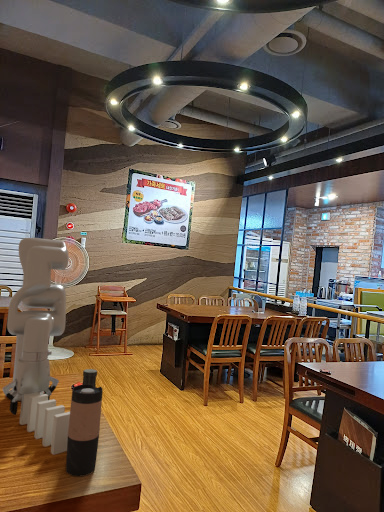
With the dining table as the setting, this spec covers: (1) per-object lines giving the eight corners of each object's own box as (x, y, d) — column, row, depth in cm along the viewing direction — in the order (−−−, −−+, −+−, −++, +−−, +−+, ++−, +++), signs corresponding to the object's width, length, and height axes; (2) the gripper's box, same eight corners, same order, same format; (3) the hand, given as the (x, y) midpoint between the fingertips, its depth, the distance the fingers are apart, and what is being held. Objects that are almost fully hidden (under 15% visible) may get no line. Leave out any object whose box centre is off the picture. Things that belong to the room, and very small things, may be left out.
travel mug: (66, 479, 91) (73, 394, 91) (63, 462, 98) (70, 384, 98) (98, 474, 94) (105, 393, 94) (93, 459, 101) (100, 383, 101)
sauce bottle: (88, 445, 108) (94, 375, 108) (68, 441, 109) (74, 372, 110) (98, 435, 114) (104, 369, 115) (79, 432, 116) (85, 366, 116)
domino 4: (42, 444, 106) (45, 408, 107) (59, 439, 110) (62, 404, 110) (44, 446, 105) (47, 410, 106) (61, 442, 109) (64, 406, 109)
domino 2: (26, 430, 114) (29, 396, 115) (43, 426, 118) (46, 393, 118) (28, 432, 113) (32, 398, 113) (45, 428, 117) (48, 395, 117)
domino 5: (50, 452, 102) (54, 415, 103) (67, 447, 106) (71, 411, 106) (53, 454, 101) (56, 417, 102) (70, 449, 105) (74, 413, 105)
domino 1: (19, 423, 119) (22, 390, 119) (35, 419, 122) (38, 388, 122) (21, 425, 117) (24, 392, 118) (37, 421, 121) (40, 389, 121)
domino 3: (34, 437, 110) (37, 402, 111) (50, 432, 114) (53, 399, 114) (36, 439, 109) (39, 404, 109) (53, 434, 113) (56, 400, 113)
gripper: (55, 350, 129) (50, 401, 129) (1, 356, 117) (-4, 412, 116) (65, 355, 124) (61, 408, 123) (10, 361, 112) (4, 420, 111)
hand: (29, 410), depth 120 cm, fingers open, 9 cm apart
